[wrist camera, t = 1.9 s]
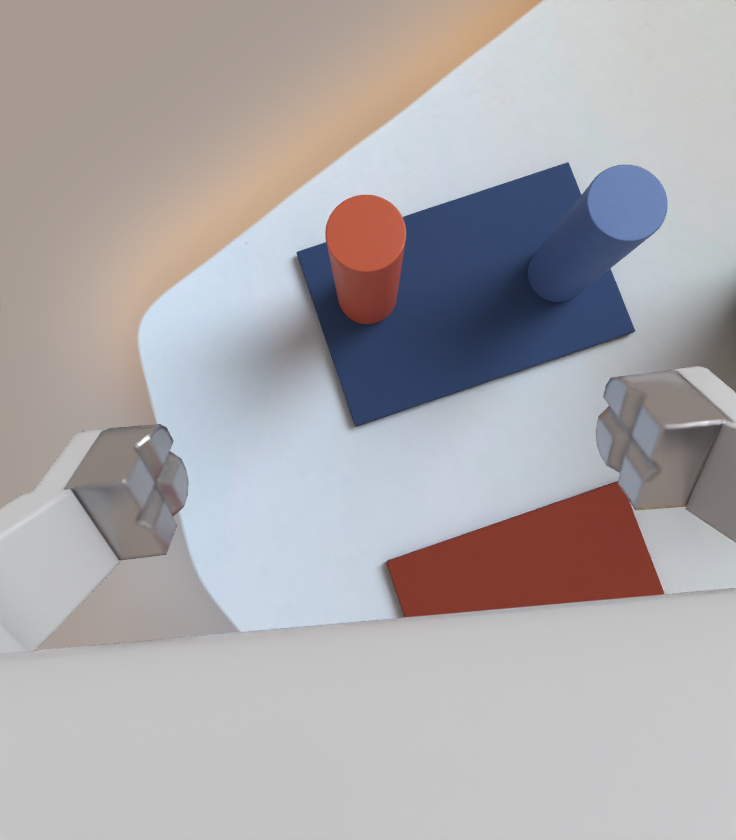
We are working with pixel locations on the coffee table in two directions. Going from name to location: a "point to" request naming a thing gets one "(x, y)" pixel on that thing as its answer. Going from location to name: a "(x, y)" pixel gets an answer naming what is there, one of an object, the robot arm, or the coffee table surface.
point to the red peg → (366, 256)
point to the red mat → (533, 560)
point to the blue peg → (598, 231)
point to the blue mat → (464, 301)
